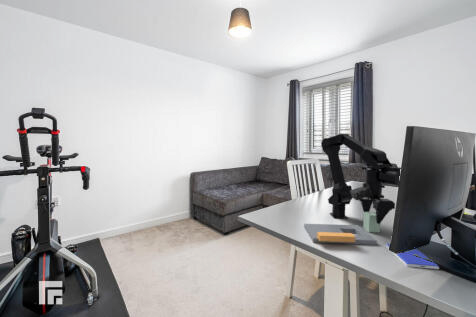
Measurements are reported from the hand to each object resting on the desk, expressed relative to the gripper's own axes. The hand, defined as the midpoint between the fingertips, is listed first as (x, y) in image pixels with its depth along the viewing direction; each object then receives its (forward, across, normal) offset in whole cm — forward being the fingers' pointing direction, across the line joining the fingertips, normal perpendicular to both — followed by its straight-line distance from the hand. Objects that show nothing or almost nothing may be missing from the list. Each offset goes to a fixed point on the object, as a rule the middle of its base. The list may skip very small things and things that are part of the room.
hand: (371, 219), depth 88 cm
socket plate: (+5, +6, -16) cm, 18 cm away
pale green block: (+5, 0, 0) cm, 5 cm away
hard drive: (+5, +20, +1) cm, 21 cm away
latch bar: (+3, +14, -20) cm, 24 cm away
